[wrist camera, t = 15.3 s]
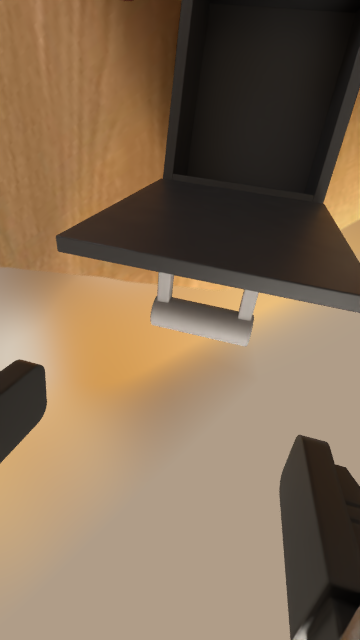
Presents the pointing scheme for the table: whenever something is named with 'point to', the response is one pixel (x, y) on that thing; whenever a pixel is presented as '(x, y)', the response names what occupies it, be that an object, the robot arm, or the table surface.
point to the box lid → (222, 251)
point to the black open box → (263, 94)
